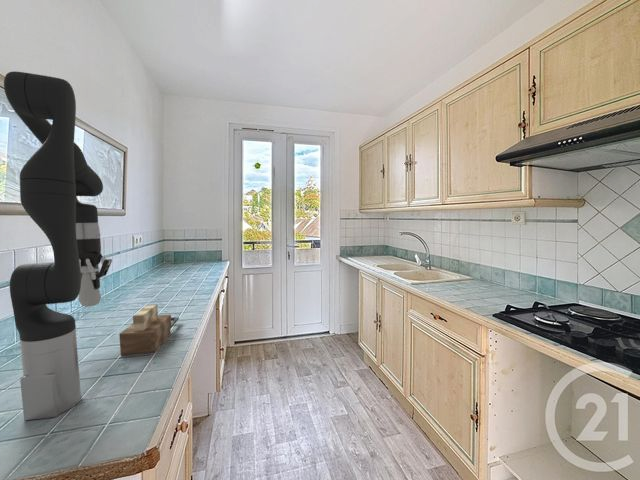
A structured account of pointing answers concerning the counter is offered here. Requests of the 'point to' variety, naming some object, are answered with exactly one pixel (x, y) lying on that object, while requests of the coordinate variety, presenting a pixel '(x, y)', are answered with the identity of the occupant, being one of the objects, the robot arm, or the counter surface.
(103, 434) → the counter surface
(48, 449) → the counter surface
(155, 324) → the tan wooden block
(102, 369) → the counter surface
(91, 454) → the counter surface
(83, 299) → the salt shaker
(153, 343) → the toolbox
